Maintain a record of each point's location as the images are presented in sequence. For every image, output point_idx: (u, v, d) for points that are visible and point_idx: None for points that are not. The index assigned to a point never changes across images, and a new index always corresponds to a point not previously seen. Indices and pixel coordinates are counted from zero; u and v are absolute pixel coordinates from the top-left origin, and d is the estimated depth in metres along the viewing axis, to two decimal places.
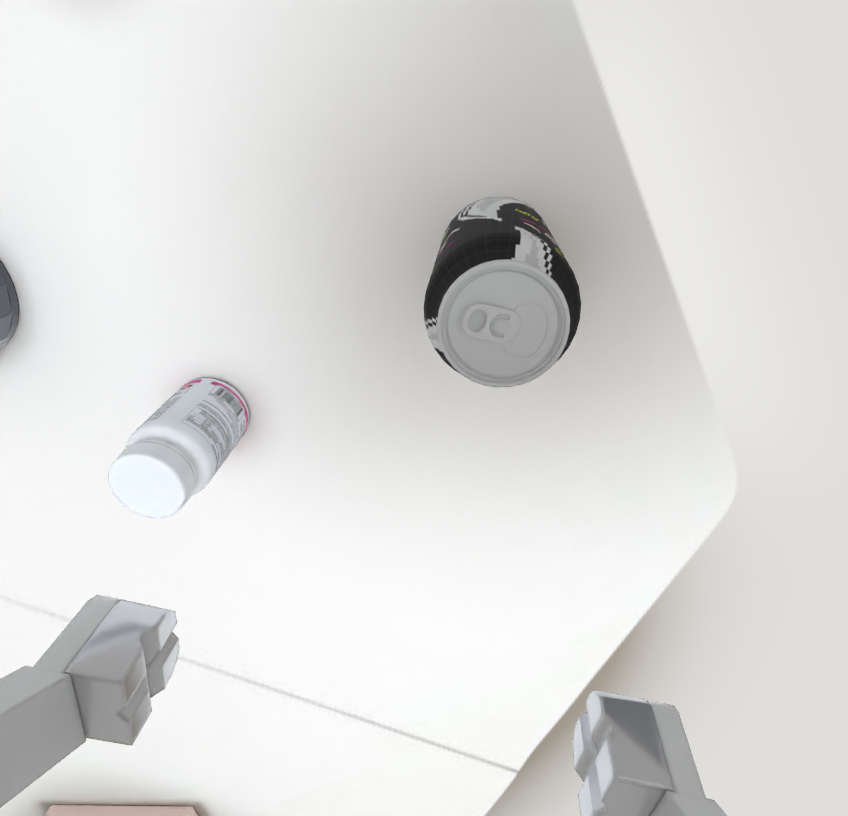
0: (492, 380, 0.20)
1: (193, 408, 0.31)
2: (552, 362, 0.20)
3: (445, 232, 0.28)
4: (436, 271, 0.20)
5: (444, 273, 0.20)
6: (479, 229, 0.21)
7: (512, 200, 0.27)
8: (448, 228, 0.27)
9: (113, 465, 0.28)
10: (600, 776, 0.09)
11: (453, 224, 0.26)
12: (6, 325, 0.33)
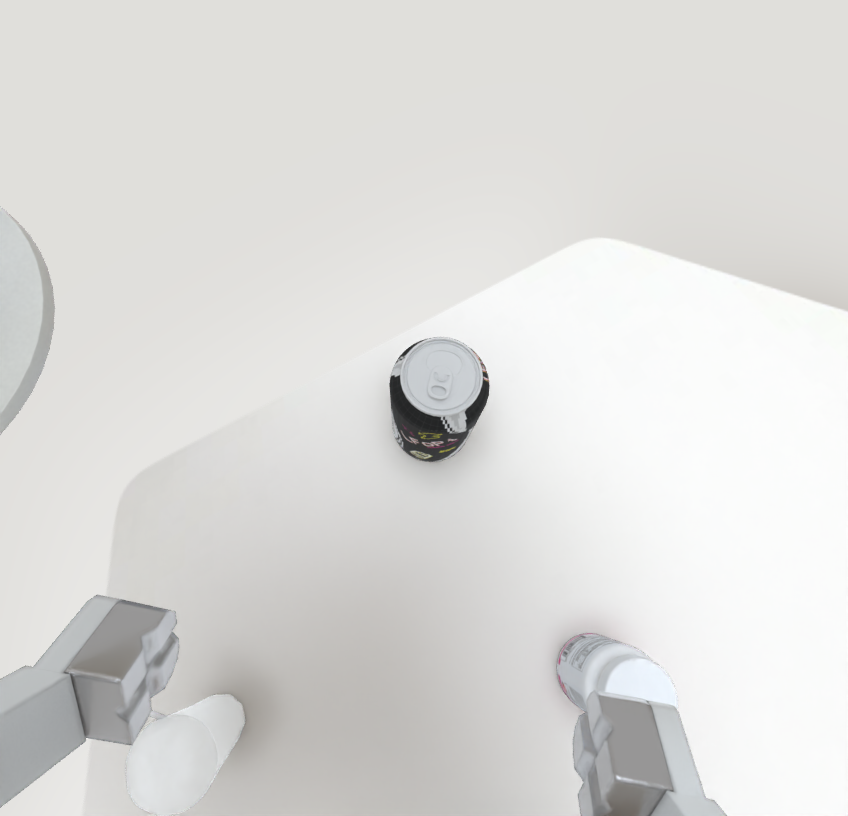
0: (478, 379, 0.31)
1: (574, 667, 0.34)
2: (462, 344, 0.31)
3: (415, 456, 0.40)
4: (414, 425, 0.31)
5: (414, 418, 0.31)
6: (393, 407, 0.33)
7: None
8: (411, 452, 0.39)
9: None
10: (600, 776, 0.09)
11: (406, 445, 0.38)
12: None
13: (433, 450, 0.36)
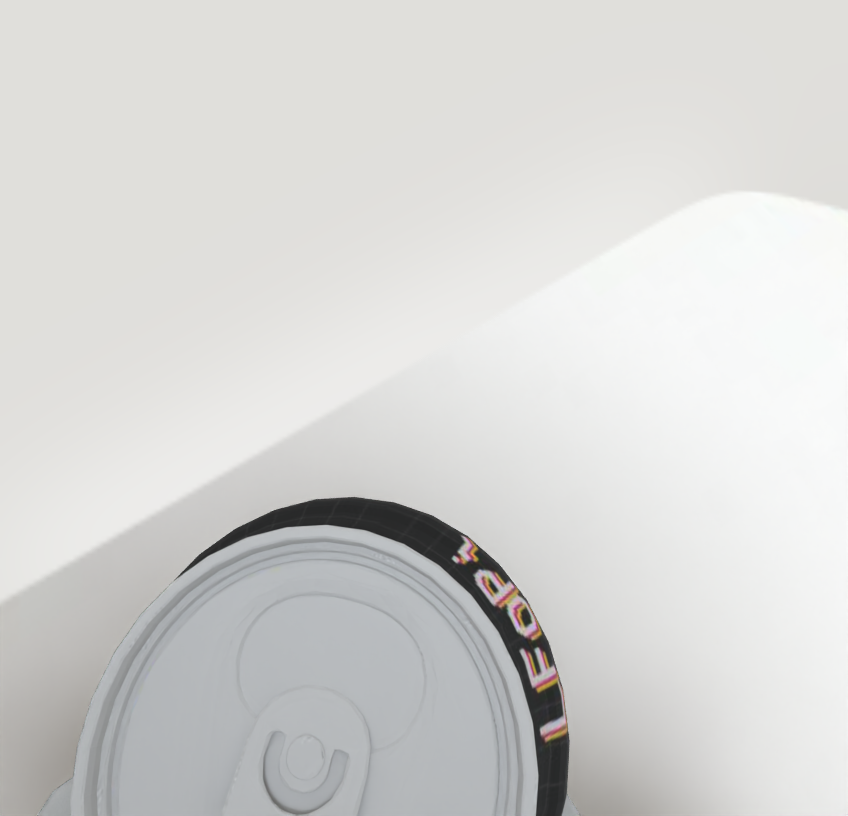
0: (514, 791, 0.05)
1: None
2: (428, 568, 0.06)
3: None
4: None
5: None
6: None
7: None
8: None
9: None
10: None
11: None
12: None
13: None
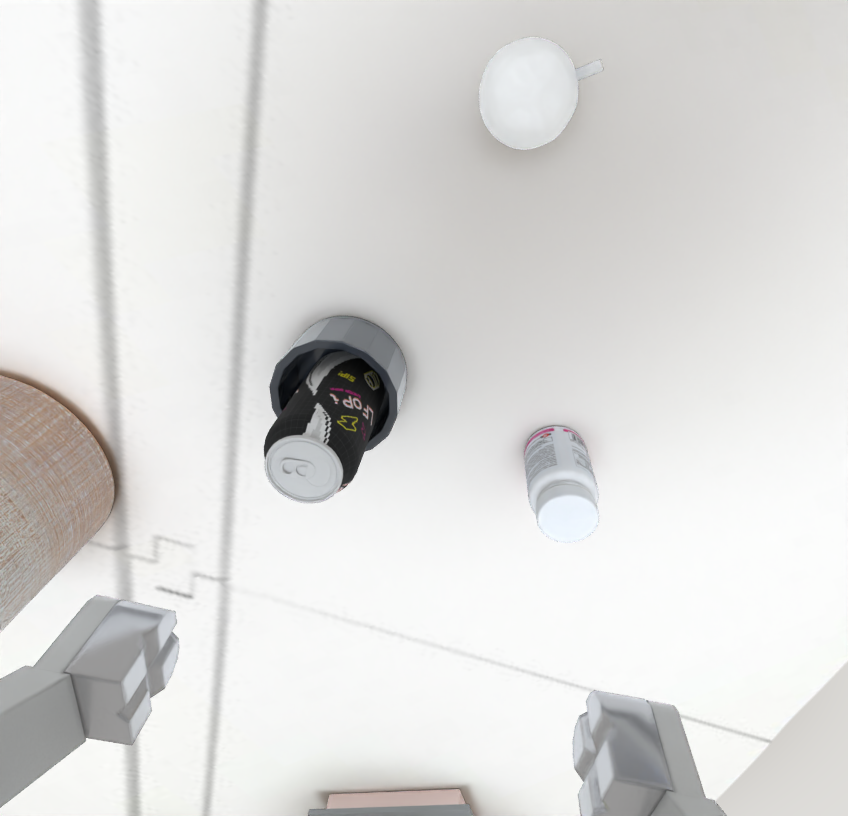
0: (304, 499, 0.33)
1: (573, 453, 0.40)
2: (336, 490, 0.32)
3: None
4: (267, 434, 0.33)
5: (270, 438, 0.33)
6: (296, 404, 0.34)
7: (348, 356, 0.40)
8: None
9: (546, 504, 0.36)
10: (600, 776, 0.09)
11: (306, 377, 0.39)
12: None
13: None
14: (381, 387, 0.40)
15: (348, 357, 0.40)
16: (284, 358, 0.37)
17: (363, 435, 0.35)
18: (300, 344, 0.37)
